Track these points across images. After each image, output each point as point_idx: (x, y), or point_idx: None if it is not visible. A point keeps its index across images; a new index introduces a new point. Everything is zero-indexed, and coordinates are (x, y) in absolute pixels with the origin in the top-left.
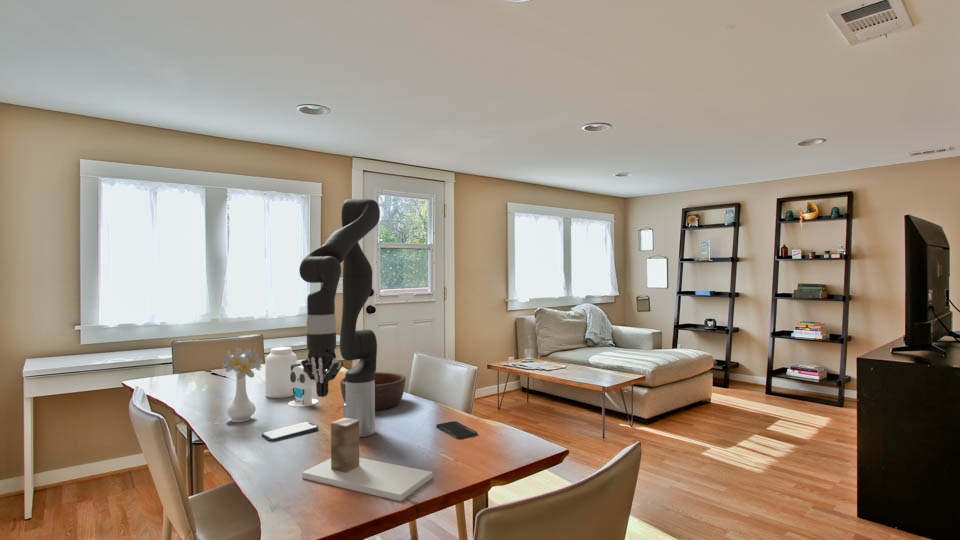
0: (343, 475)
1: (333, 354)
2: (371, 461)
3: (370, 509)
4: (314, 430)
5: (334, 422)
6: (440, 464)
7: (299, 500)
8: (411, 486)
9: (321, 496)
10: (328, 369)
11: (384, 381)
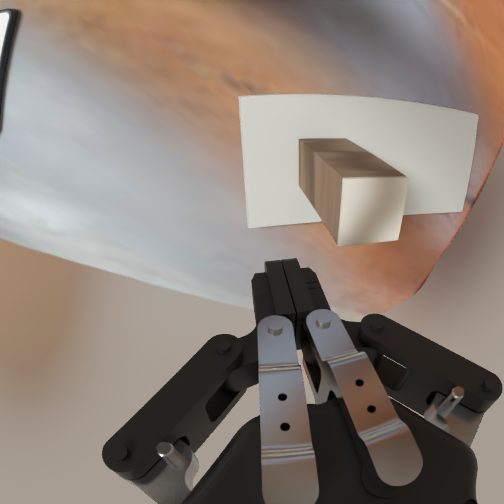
0: None
1: (461, 480)
2: (355, 103)
3: (428, 244)
4: (14, 22)
5: (347, 237)
6: (459, 47)
7: None
8: (468, 180)
9: (341, 253)
10: (358, 383)
11: None
